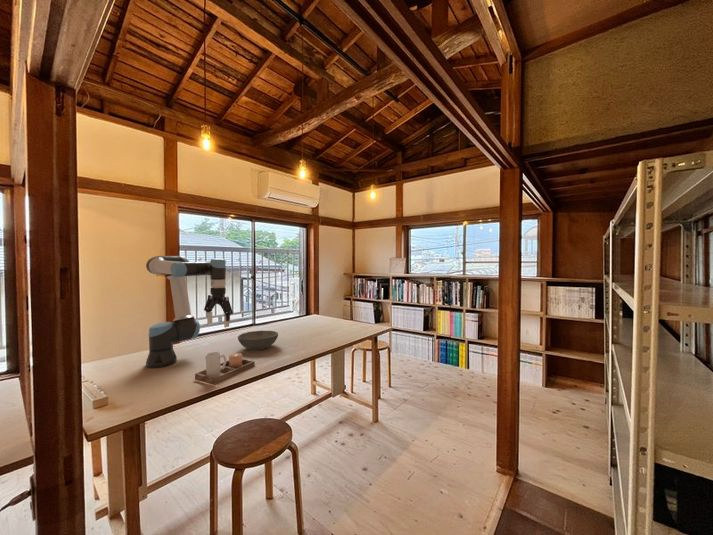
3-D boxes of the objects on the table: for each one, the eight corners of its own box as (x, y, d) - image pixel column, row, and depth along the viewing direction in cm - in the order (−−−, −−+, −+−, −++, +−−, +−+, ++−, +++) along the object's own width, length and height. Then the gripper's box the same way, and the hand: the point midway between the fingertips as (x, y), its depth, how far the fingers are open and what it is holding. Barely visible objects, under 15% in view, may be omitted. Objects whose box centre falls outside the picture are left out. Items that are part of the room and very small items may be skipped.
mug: (208, 380, 147) (208, 357, 147) (204, 376, 152) (203, 354, 152) (229, 375, 155) (228, 352, 154) (224, 371, 159) (223, 349, 159)
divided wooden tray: (195, 379, 150) (195, 373, 150) (235, 362, 174) (235, 357, 174) (215, 384, 144) (215, 378, 144) (254, 366, 168) (254, 361, 168)
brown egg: (226, 368, 163) (226, 356, 163) (236, 364, 170) (236, 352, 169) (235, 370, 160) (235, 358, 160) (245, 366, 167) (245, 354, 167)
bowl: (230, 354, 189) (230, 339, 188) (247, 342, 215) (247, 328, 214) (271, 355, 188) (271, 339, 187) (283, 342, 214) (282, 329, 214)
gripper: (196, 286, 163) (197, 323, 164) (228, 289, 151) (228, 330, 153) (208, 284, 169) (209, 321, 170) (239, 288, 158) (239, 326, 159)
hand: (218, 325), depth 162 cm, fingers open, 13 cm apart
